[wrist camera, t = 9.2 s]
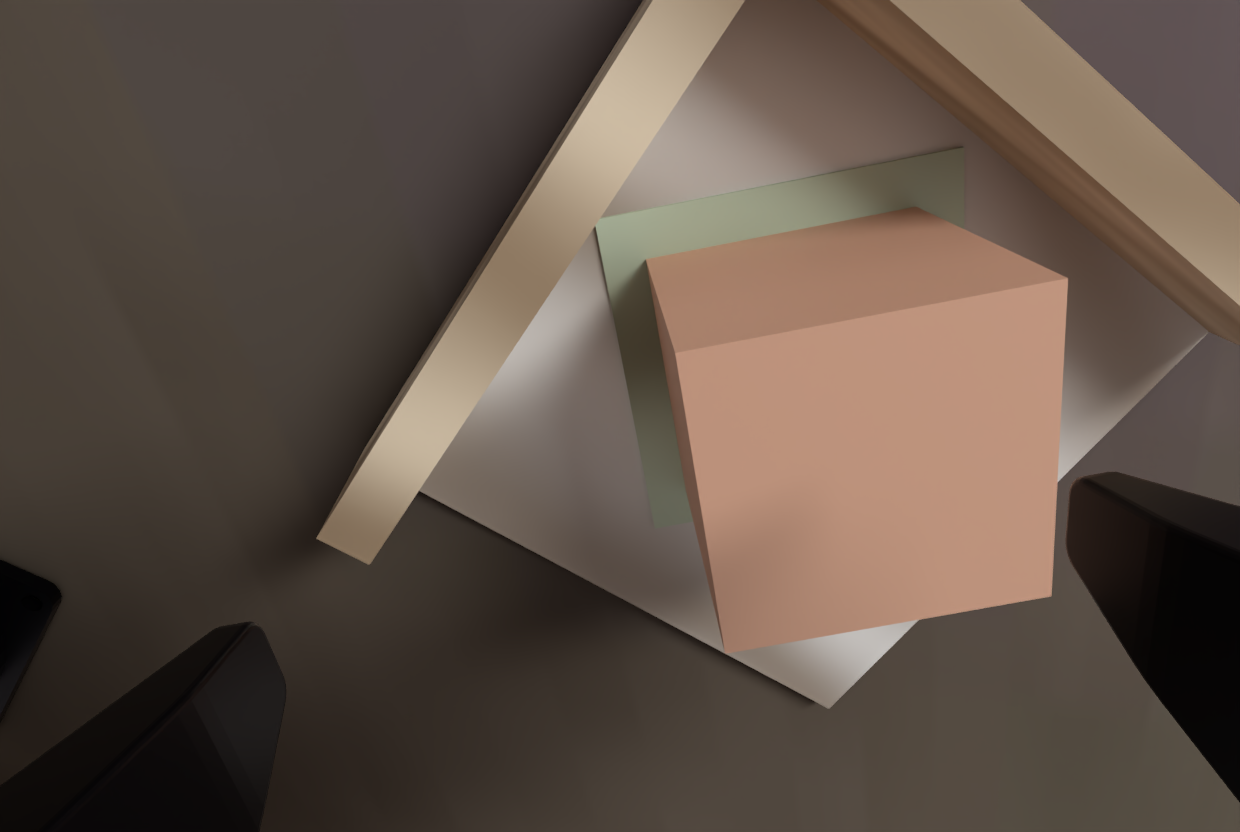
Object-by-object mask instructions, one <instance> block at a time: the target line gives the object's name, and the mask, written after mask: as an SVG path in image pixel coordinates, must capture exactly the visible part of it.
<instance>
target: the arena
mask: <svg viewBox="0 0 1240 832" xmlns="http://www.w3.org/2000/svg"><path fill="white" fill-rule="evenodd" d="M911 207H918V208H920V209H922V210H924V211H927V212H929V213H931V214H933V215H935V216H937V217H939V218H941V219H944V220H946V221H948V222H950V223H952V224H954V225H956V226H958V227H960V228H963V229H965V230H967V231H969V232H971V233H973V234H975V235H977V236H980V237H982V238H984V239H986V240H988V241H990V242H992V243H994V244H997V245H999V246H1001V247H1003V248H1005V249H1007V250H1009V251H1011V252H1014V253H1016V254H1018V255H1020V256H1022V257H1024V258H1026V259H1028V260H1030V261H1033V262H1035V263H1037V264H1039V265H1041V266H1043V267H1045V268H1047V269H1050V270H1052V271H1054V272H1056V273H1058V274H1060V275H1062V276H1064V277H1067V278H1068V291H1067V310H1066V329H1065V348H1064V367H1063V386H1062V404H1061V423H1060V442H1059V461H1058V480H1057V482H1058V481H1059V480H1060V479H1061V478H1062V477H1063V476H1064V475H1065V474H1066V473H1067V472H1068V471H1069V470H1070V469H1071V468H1072V467H1073V466H1074V465H1075V464H1076V463H1077V462H1078V461H1079V460H1080V459H1081V458H1082V457H1083V456H1084V455H1085V454H1086V453H1087V452H1088V451H1089V450H1090V449H1091V448H1092V447H1093V446H1094V445H1095V444H1096V443H1097V442H1099V441H1100V440H1101V439H1102V438H1103V437H1104V436H1105V435H1106V434H1107V433H1108V432H1109V431H1110V430H1111V429H1112V428H1113V427H1114V426H1115V425H1116V424H1117V423H1118V422H1119V421H1120V420H1121V419H1122V418H1123V417H1124V416H1125V415H1126V414H1127V413H1128V412H1129V411H1130V410H1131V409H1132V408H1133V407H1134V406H1135V405H1136V404H1137V403H1138V402H1139V401H1140V400H1141V399H1142V398H1143V397H1144V396H1145V395H1146V394H1147V393H1148V392H1149V391H1150V390H1151V389H1152V388H1153V387H1154V386H1155V385H1156V384H1157V383H1158V382H1159V381H1160V380H1161V379H1162V378H1163V377H1164V376H1165V375H1166V374H1167V373H1168V372H1169V371H1170V370H1171V369H1172V368H1173V367H1174V366H1175V365H1176V364H1177V363H1178V362H1179V361H1180V360H1181V359H1182V358H1183V357H1184V356H1185V355H1186V354H1187V353H1188V352H1189V351H1190V350H1191V349H1192V348H1193V347H1194V346H1195V345H1196V344H1197V343H1198V342H1199V341H1200V340H1201V339H1202V338H1203V337H1204V336H1205V335H1206V334H1207V333H1208V332H1211V333H1213V334H1215V335H1217V336H1220V337H1222V338H1224V339H1226V340H1228V341H1231V342H1233V343H1235V344H1237V345H1240V204H1239V203H1238V202H1237V201H1236V200H1235V199H1234V198H1232V197H1231V196H1230V195H1229V194H1228V193H1227V192H1226V191H1225V190H1224V189H1223V188H1222V187H1221V186H1220V185H1218V184H1217V183H1216V182H1215V181H1214V180H1213V179H1212V178H1211V177H1210V176H1209V175H1208V174H1207V173H1206V172H1204V171H1203V170H1202V169H1201V168H1200V167H1199V166H1198V165H1197V164H1196V163H1195V162H1194V161H1193V160H1192V159H1190V158H1189V157H1188V156H1187V155H1186V154H1185V153H1184V152H1183V151H1182V150H1181V149H1180V148H1179V147H1178V146H1176V145H1175V144H1174V143H1173V142H1172V141H1171V140H1170V139H1169V138H1168V137H1167V136H1166V135H1165V134H1164V133H1162V132H1161V131H1160V130H1159V129H1158V128H1157V127H1156V126H1155V125H1154V124H1153V123H1152V122H1151V121H1150V120H1148V119H1147V118H1146V117H1145V116H1144V115H1143V114H1142V113H1141V112H1140V111H1139V110H1138V109H1137V108H1136V107H1134V106H1133V105H1132V104H1131V103H1130V102H1129V101H1128V100H1127V99H1126V98H1125V97H1124V96H1123V95H1122V94H1120V93H1119V92H1118V91H1117V90H1116V89H1115V88H1114V87H1113V86H1112V85H1111V84H1110V83H1109V82H1108V81H1106V80H1105V79H1104V78H1103V77H1102V76H1101V75H1100V74H1099V73H1098V72H1097V71H1096V70H1095V69H1094V68H1092V67H1091V66H1090V65H1089V64H1088V63H1087V62H1086V61H1085V60H1084V59H1083V58H1082V57H1081V56H1080V55H1078V54H1077V53H1076V52H1075V51H1074V50H1073V49H1072V48H1071V47H1070V46H1069V45H1068V44H1067V43H1066V42H1064V41H1063V40H1062V39H1061V38H1060V37H1059V36H1058V35H1057V34H1056V33H1055V32H1054V31H1053V30H1052V29H1050V28H1049V27H1048V26H1047V25H1046V24H1045V23H1044V22H1043V21H1042V20H1041V19H1040V18H1039V17H1038V16H1036V15H1035V14H1034V13H1033V12H1032V11H1031V10H1030V9H1029V8H1028V7H1027V6H1026V5H1025V4H1024V3H1022V2H1021V1H1020V0H643V1H642V3H641V4H640V6H639V7H638V9H637V11H636V12H635V14H634V15H633V17H632V19H631V20H630V22H629V23H628V25H627V27H626V28H625V30H624V32H623V33H622V35H621V36H620V38H619V40H618V41H617V43H616V44H615V46H614V48H613V49H612V51H611V52H610V54H609V56H608V57H607V59H606V61H605V62H604V64H603V65H602V67H601V69H600V70H599V72H598V73H597V75H596V77H595V78H594V80H593V81H592V83H591V85H590V86H589V88H588V89H587V91H586V93H585V94H584V96H583V98H582V99H581V101H580V102H579V104H578V106H577V107H576V109H575V110H574V112H573V114H572V115H571V117H570V118H569V120H568V122H567V123H566V125H565V127H564V128H563V130H562V131H561V133H560V135H559V136H558V138H557V139H556V141H555V143H554V144H553V146H552V147H551V149H550V151H549V152H548V154H547V155H546V157H545V159H544V160H543V162H542V164H541V165H540V167H539V168H538V170H537V172H536V173H535V175H534V176H533V178H532V180H531V181H530V183H529V184H528V186H527V188H526V189H525V191H524V192H523V194H522V196H521V197H520V199H519V201H518V202H517V204H516V205H515V207H514V209H513V210H512V212H511V213H510V215H509V217H508V218H507V220H506V221H505V223H504V225H503V226H502V228H501V230H500V231H499V233H498V234H497V236H496V238H495V239H494V241H493V242H492V244H491V246H490V247H489V249H488V250H487V252H486V254H485V255H484V257H483V258H482V260H481V262H480V263H479V265H478V267H477V268H476V270H475V271H474V273H473V275H472V276H471V278H470V279H469V281H468V283H467V284H466V286H465V287H464V289H463V291H462V292H461V294H460V296H459V297H458V299H457V300H456V302H455V304H454V305H453V307H452V308H451V310H450V312H449V313H448V315H447V316H446V318H445V320H444V321H443V323H442V324H441V326H440V328H439V329H438V331H437V333H436V334H435V336H434V337H433V339H432V341H431V342H430V344H429V345H428V347H427V349H426V350H425V352H424V353H423V355H422V357H421V358H420V360H419V361H418V363H417V365H416V366H415V368H414V370H413V371H412V373H411V374H410V376H409V378H408V379H407V381H406V382H405V384H404V386H403V387H402V389H401V390H400V392H399V394H398V395H397V397H396V399H395V400H394V402H393V403H392V405H391V407H390V408H389V410H388V411H387V413H386V415H385V416H384V418H383V419H382V421H381V423H380V424H379V426H378V427H377V429H376V431H375V432H374V434H373V436H372V437H371V439H370V440H369V442H368V444H367V445H366V447H365V448H364V450H363V452H362V454H361V456H360V458H359V459H358V461H357V463H356V465H355V467H354V469H353V471H352V472H351V474H350V476H349V478H348V480H347V482H346V484H345V486H344V487H343V489H342V491H341V493H340V495H339V497H338V499H337V500H336V502H335V504H334V506H333V508H332V510H331V512H330V514H329V515H328V517H327V519H326V521H325V523H324V525H323V527H322V528H321V530H320V532H319V534H318V536H317V538H316V539H318V540H320V541H322V542H324V543H326V544H328V545H330V546H332V547H334V548H336V549H338V550H340V551H342V552H344V553H346V554H348V555H350V556H352V557H354V558H356V559H358V560H360V561H362V562H364V563H366V564H368V565H370V563H371V562H372V560H373V559H374V557H375V556H376V554H377V553H378V551H379V550H380V548H381V547H382V545H383V544H384V542H385V541H386V539H387V538H388V536H389V535H390V533H391V532H392V530H393V529H394V527H395V526H396V524H397V523H398V521H399V520H400V518H401V517H402V515H403V514H404V512H405V511H406V509H407V508H408V506H409V505H410V503H411V502H412V500H413V499H414V497H415V496H416V494H417V493H418V491H420V492H422V493H424V494H426V495H428V496H430V497H432V498H433V499H435V500H437V501H439V502H441V503H443V504H445V505H447V506H449V507H450V508H452V509H454V510H456V511H458V512H460V513H462V514H464V515H465V516H467V517H469V518H471V519H473V520H475V521H477V522H479V523H480V524H482V525H484V526H486V527H488V528H490V529H492V530H494V531H496V532H497V533H499V534H501V535H503V536H505V537H507V538H509V539H511V540H512V541H514V542H516V543H518V544H520V545H522V546H524V547H526V548H527V549H529V550H531V551H533V552H535V553H537V554H539V555H541V556H543V557H544V558H546V559H548V560H550V561H552V562H554V563H556V564H558V565H559V566H561V567H563V568H565V569H567V570H569V571H571V572H573V573H574V574H576V575H578V576H580V577H582V578H584V579H586V580H588V581H590V582H591V583H593V584H595V585H597V586H599V587H601V588H603V589H605V590H606V591H608V592H610V593H612V594H614V595H616V596H618V597H620V598H621V599H623V600H625V601H627V602H629V603H631V604H633V605H635V606H637V607H638V608H640V609H642V610H644V611H646V612H648V613H650V614H652V615H653V616H655V617H657V618H659V619H661V620H663V621H665V622H667V623H668V624H670V625H672V626H674V627H676V628H678V629H680V630H682V631H684V632H685V633H687V634H689V635H691V636H693V637H695V638H697V639H699V640H700V641H702V642H704V643H706V644H708V645H710V646H712V647H714V648H715V649H717V650H719V651H721V652H723V653H725V651H724V647H723V643H722V638H721V634H720V630H719V626H718V622H717V618H716V614H715V609H714V605H713V601H712V597H711V593H710V589H709V585H708V580H707V576H706V572H705V568H704V564H703V560H702V555H701V551H700V547H699V543H698V539H697V535H696V531H695V526H694V522H693V518H692V514H691V510H690V506H689V502H688V497H687V493H686V488H685V483H684V477H683V471H682V465H681V460H680V454H679V448H678V442H677V437H676V431H675V425H674V419H673V414H672V408H671V402H670V396H669V391H668V385H667V379H666V373H665V368H664V362H663V356H662V350H661V345H660V339H659V333H658V327H657V321H656V316H655V310H654V304H653V298H652V293H651V287H650V281H649V275H648V270H647V264H646V259H650V258H655V257H660V256H665V255H670V254H675V253H680V252H685V251H691V250H696V249H701V248H706V247H711V246H716V245H721V244H727V243H732V242H737V241H742V240H747V239H752V238H757V237H763V236H768V235H773V234H778V233H783V232H788V231H793V230H798V229H804V228H809V227H814V226H819V225H824V224H829V223H834V222H840V221H845V220H850V219H855V218H860V217H865V216H870V215H876V214H881V213H886V212H891V211H896V210H901V209H906V208H911ZM917 621H918V620H914V621H908V622H903V623H897V624H891V625H886V626H880V627H874V628H869V629H863V630H857V631H852V632H846V633H840V634H835V635H829V636H823V637H818V638H812V639H806V640H801V641H795V642H789V643H784V644H778V645H773V646H767V647H761V648H756V649H750V650H744V651H739V652H733V653H727V655H729V656H731V657H732V658H734V659H736V660H738V661H740V662H742V663H744V664H746V665H747V666H749V667H751V668H753V669H755V670H757V671H759V672H761V673H762V674H764V675H766V676H768V677H770V678H772V679H774V680H776V681H778V682H779V683H781V684H783V685H785V686H787V687H789V688H791V689H793V690H794V691H796V692H798V693H800V694H802V695H804V696H806V697H808V698H809V699H811V700H813V701H815V702H817V703H819V704H821V705H823V706H825V707H826V708H828V709H829V708H830V707H831V706H832V705H833V704H834V703H835V702H836V701H837V700H838V699H839V698H840V697H841V696H842V695H843V694H844V693H845V692H846V691H847V690H848V689H849V688H850V687H851V686H852V685H853V684H854V683H855V682H856V681H857V680H858V679H859V678H860V677H861V676H862V675H863V674H865V673H866V672H867V671H868V670H869V669H870V668H871V667H872V666H873V665H874V664H875V663H876V662H877V661H878V660H879V659H880V658H881V657H882V656H883V655H884V654H885V653H886V652H887V651H888V650H889V649H890V648H891V647H892V646H893V645H894V644H895V643H896V642H897V641H898V640H899V639H900V638H901V637H902V636H903V635H904V634H905V633H906V632H907V631H908V630H909V629H910V628H911V627H912V626H913V625H914V624H915V623H916V622H917Z"/></svg>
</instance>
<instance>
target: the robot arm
mask: <svg viewBox="0 0 1240 832" xmlns="http://www.w3.org/2000/svg"><path fill="white" fill-rule="evenodd" d="M1066 550H1067V554H1068V557H1069V559H1070V562H1071V564H1072V565H1073V567H1074V569H1075V570H1076V572H1077V574H1078V575H1079V577H1080V578H1081V580H1082V582H1083V583H1084V585H1085V586H1086V588H1087V590H1088V591H1089V593H1090V594H1091V596H1092V598H1093V599H1094V601H1095V602H1096V604H1097V606H1098V607H1099V609H1100V610H1101V612H1102V614H1103V615H1104V617H1105V618H1106V620H1107V622H1108V623H1109V625H1110V626H1111V628H1112V630H1113V631H1114V633H1115V634H1116V636H1117V638H1118V639H1119V641H1120V642H1121V644H1122V646H1123V647H1124V649H1125V650H1126V652H1127V654H1128V655H1129V657H1130V658H1131V660H1132V662H1133V663H1134V665H1135V666H1136V668H1137V669H1138V671H1139V672H1140V673H1141V675H1142V676H1143V678H1144V679H1145V681H1146V682H1147V684H1148V685H1149V686H1150V688H1151V689H1152V690H1153V692H1154V693H1155V694H1156V696H1157V697H1158V698H1159V700H1160V701H1161V702H1162V704H1163V705H1164V706H1165V707H1166V709H1167V710H1168V711H1169V713H1170V714H1171V715H1172V716H1173V718H1174V719H1175V720H1176V721H1177V723H1178V724H1179V725H1180V727H1181V728H1182V729H1183V730H1184V732H1185V733H1186V734H1187V736H1188V737H1189V738H1190V739H1191V741H1192V742H1193V743H1194V745H1195V746H1196V747H1197V748H1198V750H1199V751H1200V752H1201V753H1202V755H1203V756H1204V757H1205V759H1206V760H1207V761H1208V762H1209V764H1210V765H1211V766H1212V768H1213V769H1214V770H1215V771H1216V773H1217V774H1218V775H1219V777H1220V778H1221V779H1222V780H1223V782H1224V783H1225V784H1226V786H1227V787H1228V788H1229V789H1230V791H1231V792H1232V793H1233V794H1234V796H1235V797H1236V798H1237V800H1238V801H1239V802H1240V506H1237V505H1233V504H1230V503H1226V502H1223V501H1219V500H1215V499H1212V498H1208V497H1205V496H1201V495H1198V494H1194V493H1190V492H1187V491H1183V490H1180V489H1176V488H1173V487H1169V486H1165V485H1162V484H1158V483H1155V482H1151V481H1147V480H1144V479H1140V478H1137V477H1133V476H1130V475H1126V474H1122V473H1119V472H1105V473H1100V474H1094V475H1089V476H1083V477H1079V478H1077V479H1076V480H1075V481H1074V482H1073V483H1072V485H1071V487H1070V492H1069V503H1068V515H1067V528H1066ZM33 596H36V597H37V598H39V599H40V600H41V601H38V600H37V599H35V598H34V597H33ZM61 597H62V596H61V593H60V590H59V589H58V588H57V587H56V586H55V585H54V584H53V583H51V582H50V581H48V580H46V579H43V578H41V577H39V576H36V575H34V574H32V573H30V572H27V571H25V570H23V569H20V568H18V567H16V566H14V565H11V564H9V563H7V562H4V561H2V560H0V722H1V720H2V718H3V716H4V714H5V712H6V710H7V708H8V706H9V704H10V702H11V700H12V698H13V696H14V694H15V692H16V690H17V688H18V686H19V684H20V682H21V680H22V678H23V676H24V674H25V672H26V670H27V668H28V666H29V664H30V662H31V660H32V658H33V656H34V654H35V652H36V650H37V648H38V646H39V644H40V642H41V640H42V638H43V636H44V634H45V632H46V630H47V628H48V626H49V624H50V622H51V620H52V618H53V616H54V614H55V612H56V610H57V608H58V606H59V604H60V602H61ZM285 701H286V684H285V680H284V676H283V674H282V671H281V669H280V667H279V665H278V662H277V660H276V658H275V656H274V653H273V651H272V649H271V647H270V644H269V642H268V640H267V638H266V635H265V633H264V631H263V630H262V628H261V627H260V626H259V625H258V624H256V623H254V622H244V623H238V624H232V625H226V626H221V627H218V628H215V629H214V630H212V631H211V632H209V633H208V634H207V635H205V636H204V637H203V638H201V639H200V640H199V641H197V642H196V643H194V644H193V645H192V646H190V647H189V648H188V649H186V650H185V651H184V652H182V653H181V654H179V655H178V656H177V657H175V658H174V659H173V660H171V661H170V662H169V663H167V664H166V665H164V666H163V667H162V668H160V669H159V670H158V671H156V672H155V673H154V674H152V675H151V676H149V677H148V678H147V679H145V680H144V681H143V682H141V683H140V684H139V685H137V686H136V687H134V688H133V689H132V690H130V691H129V692H128V693H126V694H125V695H124V696H122V697H121V698H119V699H118V700H117V701H115V702H114V703H113V704H111V705H110V706H108V707H107V708H106V709H104V710H103V711H102V712H100V713H99V714H98V715H96V716H95V717H93V718H92V719H91V720H89V721H88V722H87V723H85V724H84V725H83V726H81V727H80V728H78V729H77V730H76V731H74V732H73V733H72V734H70V735H69V736H68V737H66V738H65V739H63V740H62V741H61V742H59V743H58V744H57V745H55V746H54V747H53V748H51V749H50V750H48V751H47V752H46V753H44V754H43V755H42V756H40V757H39V758H38V759H36V760H35V761H33V762H32V763H31V764H29V765H28V766H27V767H25V768H24V769H23V770H21V771H20V772H18V773H17V774H16V775H14V776H13V777H12V778H10V779H9V780H8V781H6V782H5V783H3V784H2V785H1V786H0V832H259V830H260V826H261V822H262V817H263V813H264V808H265V803H266V798H267V793H268V788H269V783H270V778H271V773H272V768H273V763H274V757H275V752H276V747H277V742H278V737H279V732H280V727H281V722H282V717H283V712H284V706H285Z"/></svg>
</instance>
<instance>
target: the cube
mask: <svg viewBox="0 0 1240 832" xmlns="http://www.w3.org/2000/svg"><path fill="white" fill-rule="evenodd" d="M646 264H647V270H648V275H649V281H650V287H651V293H652V298H653V304H654V310H655V316H656V321H657V327H658V333H659V339H660V345H661V350H662V356H663V362H664V368H665V373H666V379H667V385H668V391H669V396H670V402H671V408H672V414H673V419H674V425H675V431H676V437H677V442H678V448H679V454H680V460H681V465H682V471H683V477H684V483H685V488H686V493H687V497H688V502H689V506H690V510H691V514H692V518H693V522H694V526H695V531H696V535H697V539H698V543H699V547H700V551H701V555H702V560H703V564H704V568H705V572H706V576H707V580H708V585H709V589H710V593H711V597H712V601H713V605H714V609H715V614H716V618H717V622H718V626H719V630H720V634H721V638H722V643H723V647H724V651H725V654H727V653H733V652H739V651H744V650H750V649H756V648H761V647H767V646H773V645H778V644H784V643H789V642H795V641H801V640H806V639H812V638H818V637H823V636H829V635H835V634H840V633H846V632H852V631H857V630H863V629H869V628H874V627H880V626H886V625H891V624H897V623H903V622H908V621H914V620H920V619H925V618H931V617H937V616H942V615H948V614H954V613H959V612H965V611H971V610H976V609H982V608H988V607H993V606H999V605H1005V604H1010V603H1016V602H1021V601H1027V600H1033V599H1038V598H1044V597H1050V596H1051V594H1052V575H1053V556H1054V537H1055V518H1056V499H1057V480H1058V461H1059V442H1060V423H1061V404H1062V386H1063V367H1064V348H1065V329H1066V310H1067V291H1068V278H1067V277H1064V276H1062V275H1060V274H1058V273H1056V272H1054V271H1052V270H1050V269H1047V268H1045V267H1043V266H1041V265H1039V264H1037V263H1035V262H1033V261H1030V260H1028V259H1026V258H1024V257H1022V256H1020V255H1018V254H1016V253H1014V252H1011V251H1009V250H1007V249H1005V248H1003V247H1001V246H999V245H997V244H994V243H992V242H990V241H988V240H986V239H984V238H982V237H980V236H977V235H975V234H973V233H971V232H969V231H967V230H965V229H963V228H960V227H958V226H956V225H954V224H952V223H950V222H948V221H946V220H944V219H941V218H939V217H937V216H935V215H933V214H931V213H929V212H927V211H924V210H922V209H920V208H918V207H911V208H906V209H901V210H896V211H891V212H886V213H881V214H876V215H870V216H865V217H860V218H855V219H850V220H845V221H840V222H834V223H829V224H824V225H819V226H814V227H809V228H804V229H798V230H793V231H788V232H783V233H778V234H773V235H768V236H763V237H757V238H752V239H747V240H742V241H737V242H732V243H727V244H721V245H716V246H711V247H706V248H701V249H696V250H691V251H685V252H680V253H675V254H670V255H665V256H660V257H655V258H650V259H646Z"/></svg>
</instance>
